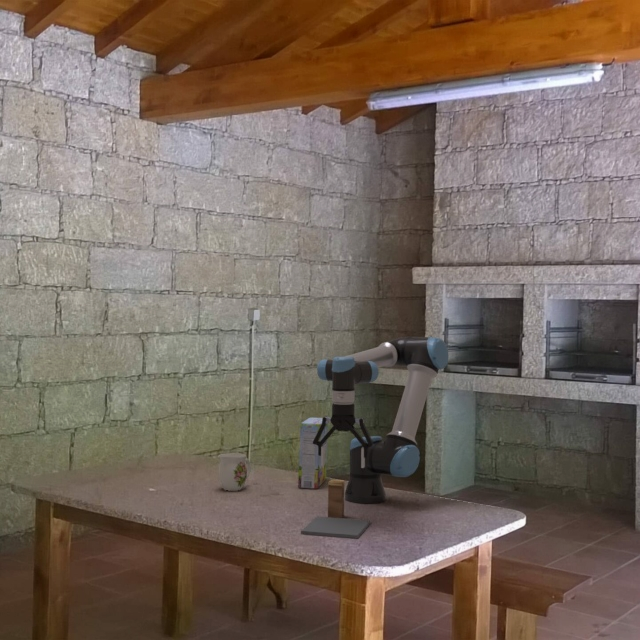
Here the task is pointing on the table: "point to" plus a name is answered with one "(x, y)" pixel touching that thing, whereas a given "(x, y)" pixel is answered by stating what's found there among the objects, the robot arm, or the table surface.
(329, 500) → the post
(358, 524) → the mat
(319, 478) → the snack box
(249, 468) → the pitcher
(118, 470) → the table surface
